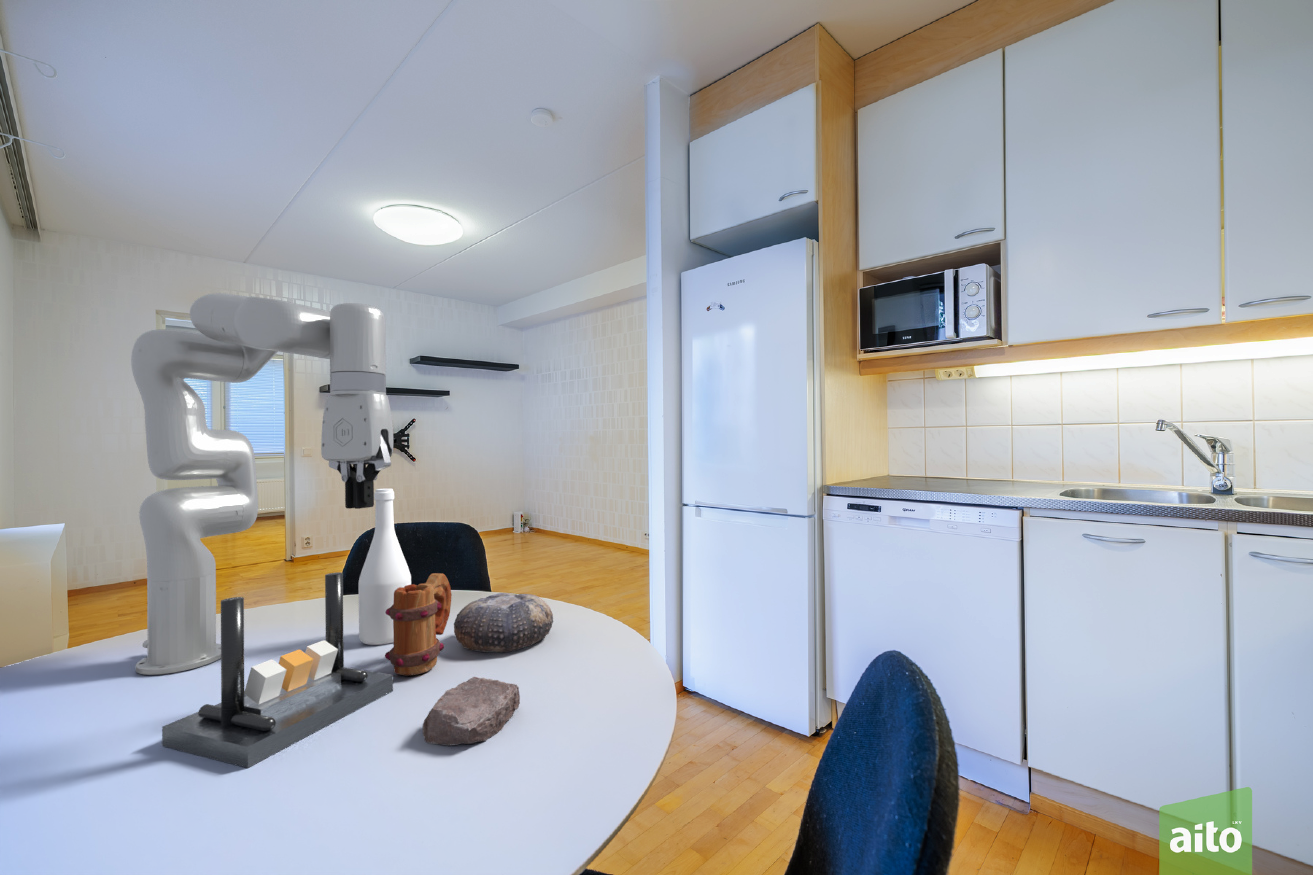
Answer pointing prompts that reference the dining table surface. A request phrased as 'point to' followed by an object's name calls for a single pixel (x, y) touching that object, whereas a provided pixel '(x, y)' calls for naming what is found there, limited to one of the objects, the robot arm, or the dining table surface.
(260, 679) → the white tilted cube
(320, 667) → the white leaning block
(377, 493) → the wine bottle
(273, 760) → the dining table surface
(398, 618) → the mug
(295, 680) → the block
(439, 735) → the stone
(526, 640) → the sea urchin shell
